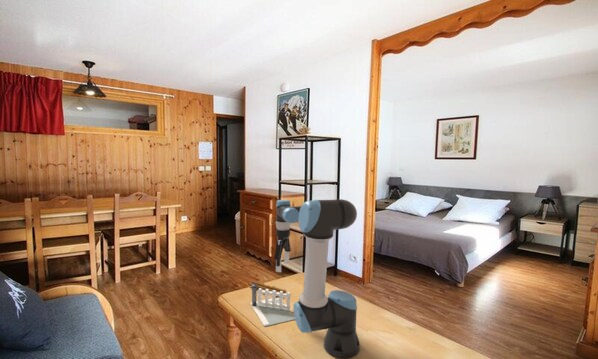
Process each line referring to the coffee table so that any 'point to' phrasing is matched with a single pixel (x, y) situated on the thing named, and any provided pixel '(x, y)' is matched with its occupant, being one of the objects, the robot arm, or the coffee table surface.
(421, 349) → the coffee table surface
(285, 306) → the fence panel
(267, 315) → the board
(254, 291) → the corner post
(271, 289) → the decorative fence
